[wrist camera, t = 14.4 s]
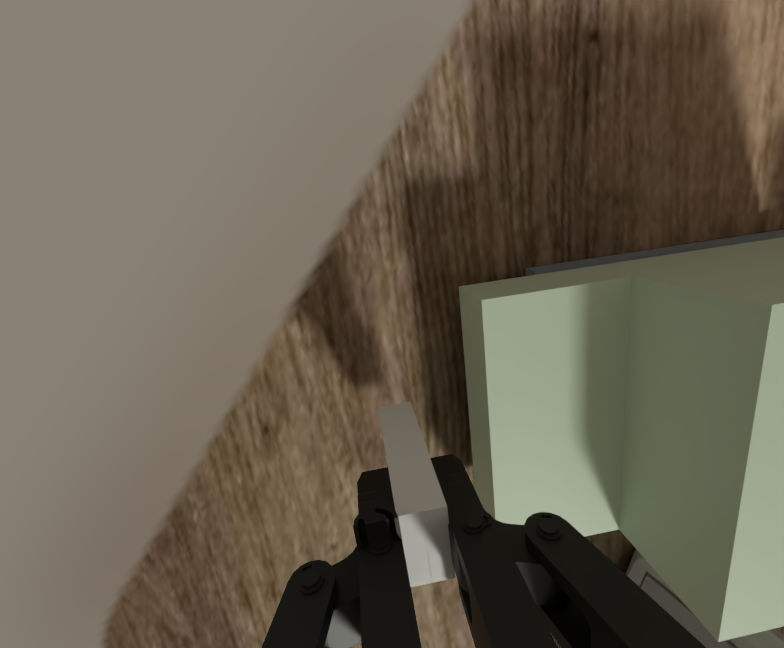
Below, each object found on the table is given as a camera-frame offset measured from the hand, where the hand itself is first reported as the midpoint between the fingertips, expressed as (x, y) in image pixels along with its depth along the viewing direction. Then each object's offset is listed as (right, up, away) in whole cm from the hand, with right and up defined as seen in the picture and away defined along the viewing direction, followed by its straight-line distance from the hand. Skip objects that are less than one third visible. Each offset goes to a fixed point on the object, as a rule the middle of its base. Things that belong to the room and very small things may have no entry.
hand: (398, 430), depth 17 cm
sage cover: (+12, +2, +2) cm, 12 cm away
